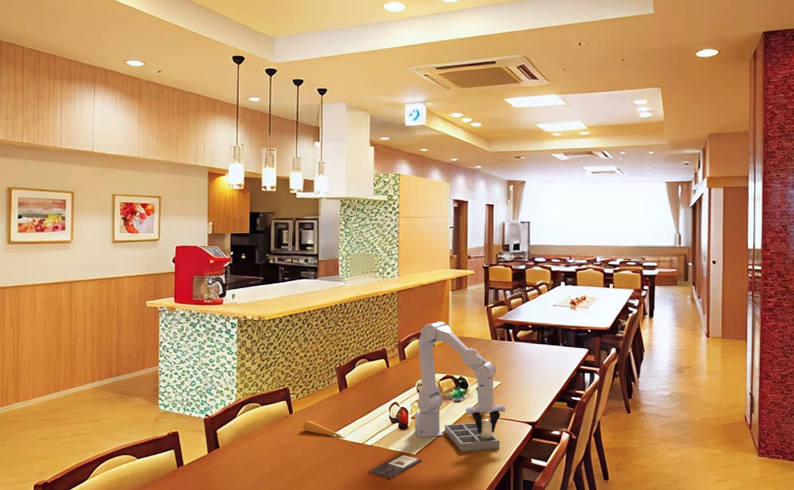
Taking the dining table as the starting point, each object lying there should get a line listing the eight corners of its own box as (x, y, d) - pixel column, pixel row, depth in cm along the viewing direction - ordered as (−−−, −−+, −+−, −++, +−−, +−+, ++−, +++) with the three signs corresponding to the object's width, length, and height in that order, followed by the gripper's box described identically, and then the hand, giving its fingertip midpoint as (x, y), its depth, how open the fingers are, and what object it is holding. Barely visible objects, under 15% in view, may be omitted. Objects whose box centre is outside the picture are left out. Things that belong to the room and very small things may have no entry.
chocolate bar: (368, 471, 193) (400, 454, 208) (368, 474, 193) (400, 456, 208) (390, 477, 188) (421, 460, 202) (390, 480, 188) (421, 462, 202)
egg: (482, 438, 214) (482, 421, 213) (478, 434, 218) (478, 417, 218) (493, 437, 215) (493, 420, 214) (489, 433, 219) (489, 417, 219)
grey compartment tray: (461, 452, 211) (461, 443, 210) (444, 432, 231) (444, 425, 231) (499, 448, 213) (499, 440, 213) (479, 429, 234) (479, 422, 234)
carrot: (302, 433, 235) (300, 424, 233) (309, 426, 239) (307, 417, 237) (343, 446, 225) (341, 437, 224) (349, 438, 229) (348, 429, 227)
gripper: (470, 399, 211) (470, 437, 211) (508, 397, 214) (508, 434, 214) (464, 394, 218) (464, 430, 218) (500, 391, 220) (501, 427, 221)
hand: (485, 432), depth 216 cm, fingers closed on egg, 4 cm apart
